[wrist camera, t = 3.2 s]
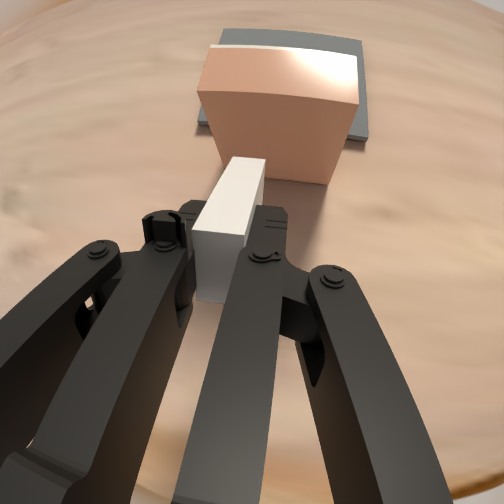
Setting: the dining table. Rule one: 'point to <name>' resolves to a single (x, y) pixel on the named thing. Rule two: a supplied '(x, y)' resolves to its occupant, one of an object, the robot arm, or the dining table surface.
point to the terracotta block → (280, 107)
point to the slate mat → (312, 43)
